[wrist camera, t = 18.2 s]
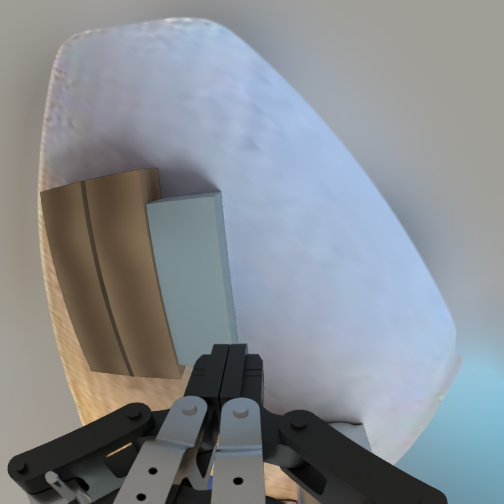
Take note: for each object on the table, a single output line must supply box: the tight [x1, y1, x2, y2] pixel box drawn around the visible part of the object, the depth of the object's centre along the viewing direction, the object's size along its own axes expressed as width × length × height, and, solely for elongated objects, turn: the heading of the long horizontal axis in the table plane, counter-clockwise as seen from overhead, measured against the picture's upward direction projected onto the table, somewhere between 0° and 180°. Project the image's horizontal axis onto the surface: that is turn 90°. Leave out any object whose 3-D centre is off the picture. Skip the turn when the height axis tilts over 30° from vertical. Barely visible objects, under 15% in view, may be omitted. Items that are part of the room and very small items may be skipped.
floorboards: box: [40, 168, 186, 379], centre depth 23 cm, size 10×18×4 cm, turn 5°
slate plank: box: [146, 191, 238, 365], centre depth 24 cm, size 5×14×4 cm, turn 5°
